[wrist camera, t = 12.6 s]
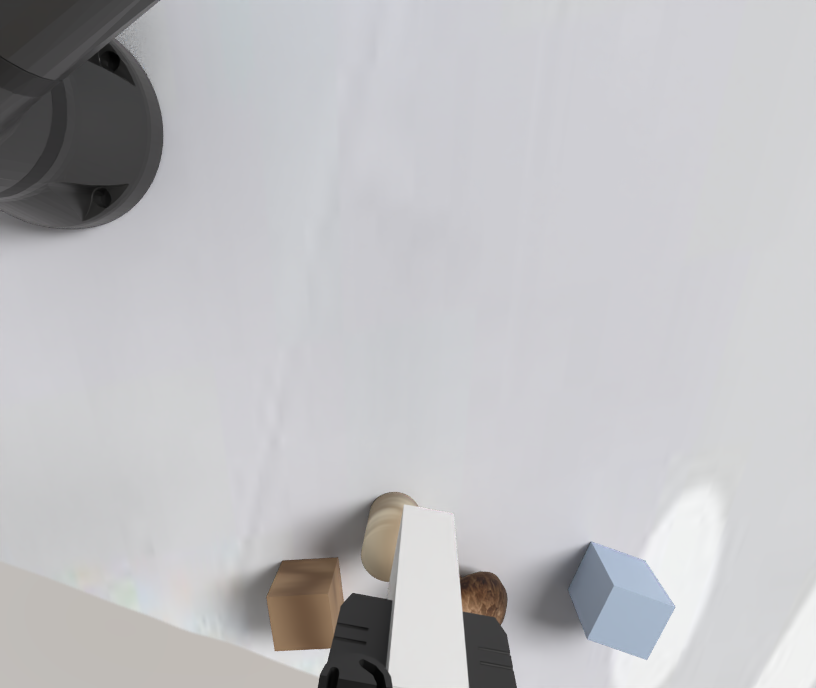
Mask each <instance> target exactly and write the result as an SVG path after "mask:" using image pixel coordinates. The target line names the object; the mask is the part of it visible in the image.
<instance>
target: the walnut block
mask: <svg viewBox="0 0 816 688" xmlns="http://www.w3.org/2000/svg"><path fill="white" fill-rule="evenodd" d="M266 598H267V605H268V611H269V617H270V623H271V630H272V636H273V642H274V649H275V651H288V650H308V649H328V648H331V645H332V641H333V637H334V632H335V628H336V624H337V619H338V615H339V611H340V607H341V605H342V604H343V603H344V599H343V592H342V584H341V576H340V568H339V560H338V557H336V558H319V559H302V560H284V561H282V563H281V565H280V567H279V569H278V572H277V574H276V576H275V579H274V581H273V583H272V585H271V588H270V590H269V592H268V594H267V597H266Z"/></svg>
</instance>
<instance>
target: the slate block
mask: <svg viewBox="0 0 816 688" xmlns="http://www.w3.org/2000/svg"><path fill="white" fill-rule="evenodd" d="M568 591H569V594H570V596H571V599H572V601H573V604H574V607H575V609H576V612H577V614H578V617H579V620H580V622H581V625H582V627H583V630H584V632H585V635H586V638H587V639H588V640H591V641H594V642H597V643H599V644H602V645H605V646H608V647H611V648H614V649H617V650H620V651H623V652H625V653H628V654H631V655H634V656H637V657H640V658H643V659H646V660H647V659H648V657H649V656H650V654H651V652H652V650H653V648H654V646H655V644H656V642H657V641H658V639H659V637H660V635H661V633H662V631H663V629H664V628H665V626H666V624H667V622H668V620H669V618H670V616H671V614H672V613H673V611H674V609H675V605H674V604H673V602H672V601H671V599H670V598H669V596H668V595H667V593H666V592H665V590H664V589H663V587H662V586H661V584H660V583H659V581H658V579H657V578H656V576H655V575H654V573H653V572H652V570H651V569H650V567H649V566H648V564H647V563H646V561H645V560H642V559H639V558H637V557H634V556H631V555H628V554H625V553H622V552H620V551H617V550H614V549H611V548H608V547H605V546H603V545H600V544H597V543H594V542H591V543H590V545H589V547H588V549H587V551H586V553H585V555H584V557H583V559H582V561H581V564H580V566H579V568H578V570H577V572H576V574H575V576H574V578H573V580H572V582H571V584H570V586H569V588H568Z"/></svg>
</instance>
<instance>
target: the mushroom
mask: <svg viewBox="0 0 816 688" xmlns="http://www.w3.org/2000/svg"><path fill="white" fill-rule="evenodd" d="M459 578H460V590H461V601H462V611H463V612H468V613H474V614H479V615H485V616H490V617H495V618H496V619H497V621H498V622H499V624H500V625H501V624H502V622H503V619H504V616H505V613H506V607H507V593H506V590H505V588H504V586H503V585H502V583H501V581H500V580H499V578H498V577H497V576H496V575H495V574H493V573H490V572H477V573H473V574H470V575H467V576H465V577H463V578H462V577H461V576H460V575H459Z"/></svg>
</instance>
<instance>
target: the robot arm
mask: <svg viewBox="0 0 816 688" xmlns="http://www.w3.org/2000/svg"><path fill="white" fill-rule="evenodd" d="M159 1H160V0H0V210H1V211H3V212H5V213H7V214H9V215H11V216H13V217H16V218H18V219H20V220H23V221H25V222H29V223H32V224H36V225H40V226H44V227H51V228H89V227H94V226H99V225H102V224H105V223H108V222H110V221H113V220H115V219H117V218H119V217H120V216H122V215H123V214H125V213H126V212H128V211H129V210H130V209H131V208H133V207H134V206H135V205H136V204H137V203H138V202H139V201H140V199H141V198H142V197H143V196H144V194H145V193H146V192H147V190H148V189H149V187H150V185H151V183H152V182H153V180H154V177H155V175H156V172H157V170H158V167H159V163H160V159H161V154H162V147H163V124H162V116H161V111H160V107H159V103H158V100H157V96H156V94H155V91H154V89H153V87H152V84H151V82H150V80H149V78H148V77H147V75H146V73H145V71H144V70H143V68H142V67H141V65H140V64H139V63H138V61H137V60H136V59H135V58H134V56H133V55H132V54H131V53H130V52H129V51H128V50H127V49H126V48H125V47H124V46H123V45H122V44H121V43H120V42H119V41H117V40H116V39H115V37H116V36H117V35H119V34H120V33H121V32H122V31H124V30H125V29H126V28H127V27H128V26H130V25H131V24H132V23H133V22H134V21H136V20H137V19H138V18H139V17H140V16H142V15H143V14H144V13H145V12H146V11H148V10H149V9H150V8H151V7H153V6H154V5H155V4H156V3H157V2H159ZM318 688H517V686H516V681H515V676H514V671H513V665H512V660H511V656H510V650H509V644H508V639H507V634H506V633H505V631H504V630H503V628H502V627H501V625H500V624H499V622H498V621H497V619H496V618H495V617H490V616H485V615H479V614H474V613H468V612H463V611H462V601H461V590H460V578H459V566H458V555H457V543H456V532H455V520H454V513H450V512H444V511H439V510H433V509H428V508H422V507H416V506H411V505H405V504H404V507H403V512H402V518H401V523H400V528H399V533H398V539H397V544H396V549H395V554H394V560H393V565H392V570H391V575H390V581H389V587H388V595H387V599H383V598H377V597H372V596H366V595H361V594H355V593H352V594H351V595H350V596H349V597H348V598H347V600H346V601H345V602H344V603H343V604H342V605H341V607H340V611H339V615H338V619H337V624H336V628H335V632H334V637H333V641H332V645H331V649H330V653H329V658H328V662H327V664H325V666H324V668H323V670H322V672H321V674H320V678H319V684H318Z"/></svg>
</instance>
